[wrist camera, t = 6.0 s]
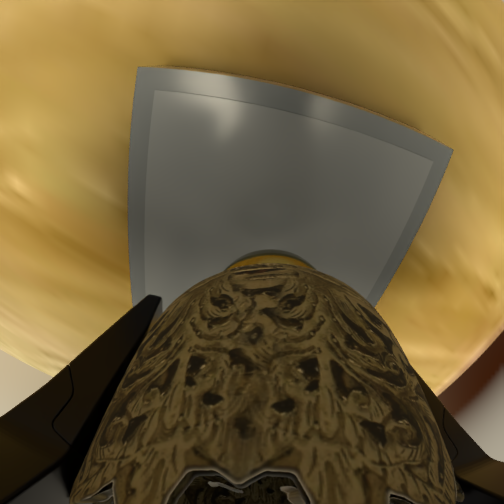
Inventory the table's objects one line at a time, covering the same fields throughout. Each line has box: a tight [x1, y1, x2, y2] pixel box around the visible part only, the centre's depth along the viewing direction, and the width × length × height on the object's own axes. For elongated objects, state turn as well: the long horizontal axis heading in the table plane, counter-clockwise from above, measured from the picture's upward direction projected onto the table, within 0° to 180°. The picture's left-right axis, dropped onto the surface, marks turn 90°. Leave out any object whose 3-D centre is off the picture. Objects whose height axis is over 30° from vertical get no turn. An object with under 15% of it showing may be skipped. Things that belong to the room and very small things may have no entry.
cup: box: [69, 249, 464, 504], centre depth 7 cm, size 8×7×8 cm
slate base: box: [128, 66, 453, 312], centre depth 13 cm, size 12×12×3 cm
